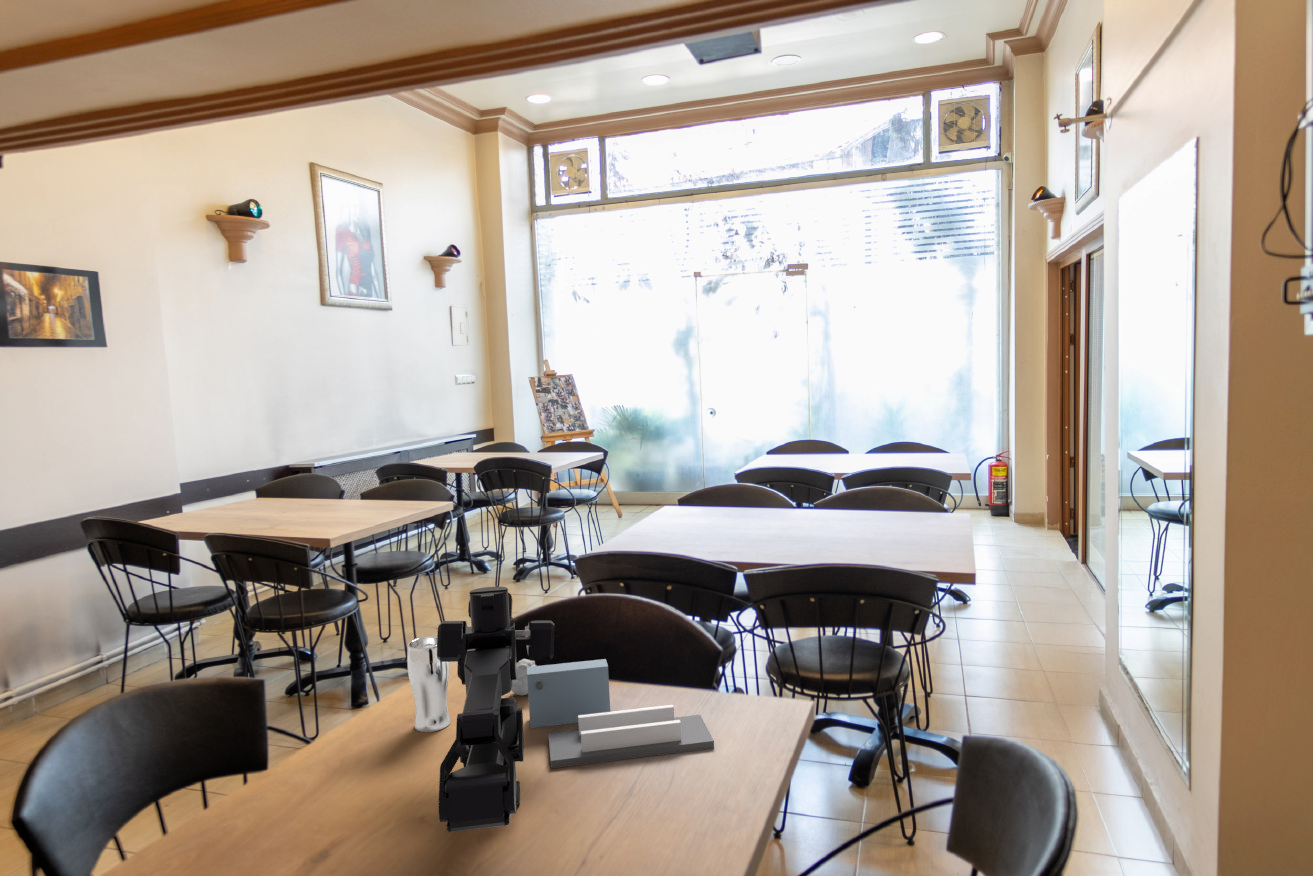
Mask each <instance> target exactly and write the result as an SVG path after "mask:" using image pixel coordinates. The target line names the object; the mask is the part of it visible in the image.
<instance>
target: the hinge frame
mask: <svg viewBox="0 0 1313 876" xmlns="http://www.w3.org/2000/svg"><path fill="white" fill-rule="evenodd" d="M577 724H578V728H575V729H566V730H557V731H549V732H548V747H549V760H550V769H556V768H564V767H571V766H572V767H573V766H581V765H588V764H589V765H590V764H596V763H603V762H604V763H605V762H612V761H619V760H620V761H621V760H629V759H637V758H645V757H652V756H661V755H668V754H677V753H685V752H693V751H701V750H709V749H715V740H714V738H713V736H712V734H711V733H710V731H709V729H708V727H707V725H706V723H705V721H704V719H703V718H702V716H701V714H695V715H694V714H693V715H685V716H679V717H677V716H675V707H674V704H666V705H657V706H656V705H655V706H649V707H648V706H647V707H641V708H632V709H631V708H630V709H622V710H621V709H620V710H616V711H615V710H614V711H610V712H603V713H595V714H586V715H578V723H577Z"/></svg>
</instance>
